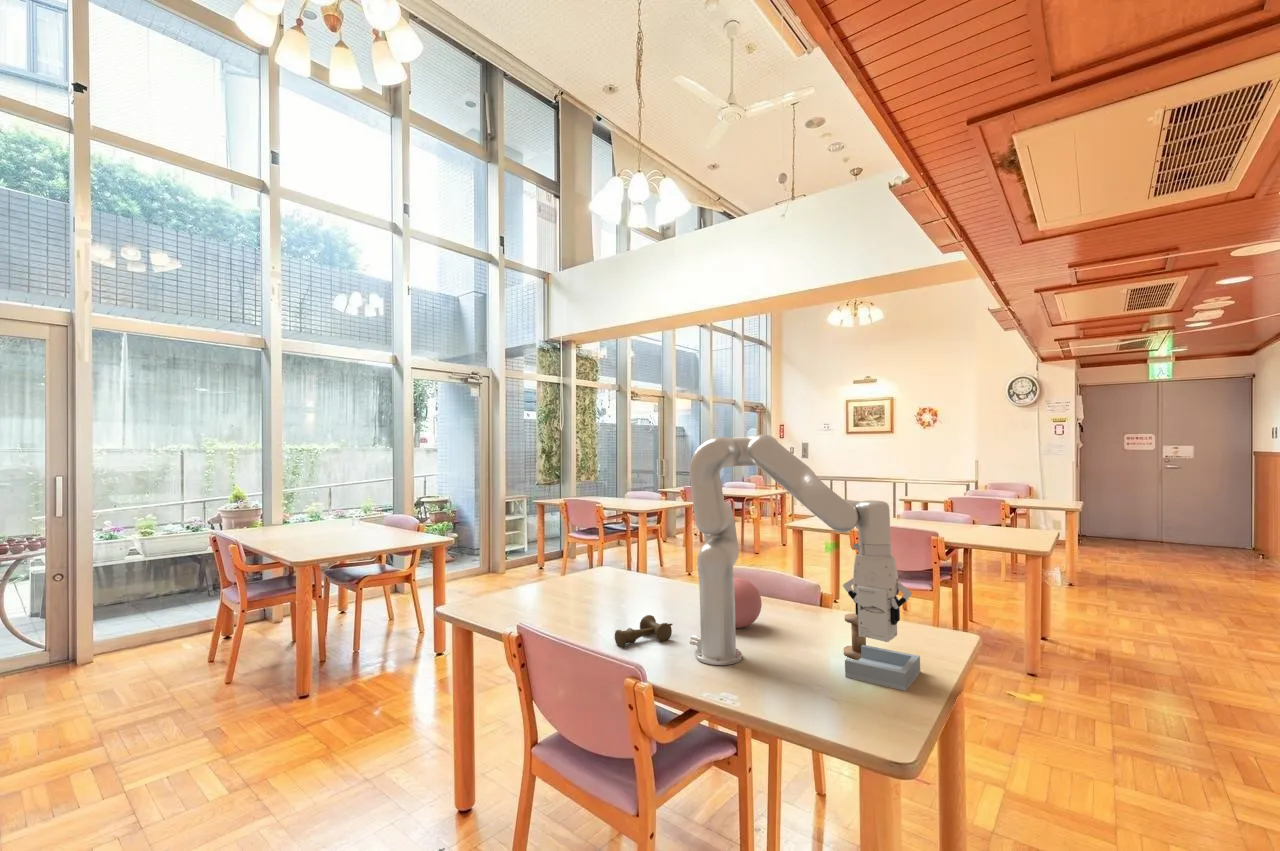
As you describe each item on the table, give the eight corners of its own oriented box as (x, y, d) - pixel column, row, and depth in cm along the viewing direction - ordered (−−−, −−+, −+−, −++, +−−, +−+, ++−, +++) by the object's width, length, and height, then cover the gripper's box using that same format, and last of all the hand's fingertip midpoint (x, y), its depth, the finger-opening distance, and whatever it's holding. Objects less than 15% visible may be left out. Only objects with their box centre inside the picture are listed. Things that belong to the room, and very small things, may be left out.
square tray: (845, 676, 141) (844, 660, 141) (863, 659, 152) (862, 644, 152) (905, 691, 132) (905, 673, 132) (920, 672, 143) (919, 655, 143)
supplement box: (857, 636, 143) (855, 586, 143) (869, 629, 148) (867, 580, 149) (888, 643, 138) (885, 590, 138) (898, 635, 143) (896, 584, 144)
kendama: (609, 644, 169) (663, 629, 180) (627, 654, 161) (682, 638, 172) (608, 624, 169) (662, 610, 180) (626, 633, 161) (681, 618, 172)
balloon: (727, 613, 196) (726, 568, 197) (772, 628, 180) (771, 578, 180) (693, 622, 187) (692, 575, 188) (737, 638, 171) (736, 586, 171)
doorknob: (839, 656, 155) (838, 618, 155) (849, 647, 161) (848, 611, 162) (869, 662, 150) (868, 623, 150) (878, 653, 156) (877, 616, 157)
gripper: (835, 549, 146) (837, 618, 146) (908, 555, 136) (911, 631, 135) (845, 544, 152) (847, 611, 152) (915, 551, 141) (918, 623, 141)
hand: (877, 620), depth 143 cm, fingers closed on supplement box, 7 cm apart
